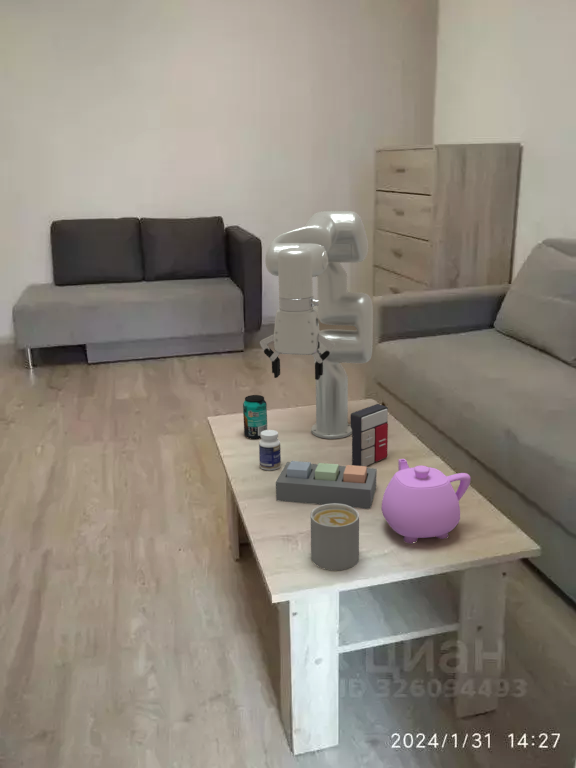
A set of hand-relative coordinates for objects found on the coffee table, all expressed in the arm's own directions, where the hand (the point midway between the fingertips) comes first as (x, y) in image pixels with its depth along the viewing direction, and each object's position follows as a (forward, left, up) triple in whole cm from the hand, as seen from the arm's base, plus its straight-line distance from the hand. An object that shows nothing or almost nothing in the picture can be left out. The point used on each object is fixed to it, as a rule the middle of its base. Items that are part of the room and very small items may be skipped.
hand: (297, 377), depth 164 cm
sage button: (-4, +6, -29) cm, 30 cm away
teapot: (+7, +30, -32) cm, 44 cm away
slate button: (-4, -1, -29) cm, 29 cm away
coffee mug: (+23, +12, -31) cm, 41 cm away
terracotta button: (-4, +13, -29) cm, 32 cm away
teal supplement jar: (-38, -22, -31) cm, 54 cm away
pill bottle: (-17, -12, -31) cm, 38 cm away
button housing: (-4, +6, -31) cm, 32 cm away
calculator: (-25, +14, -31) cm, 43 cm away
